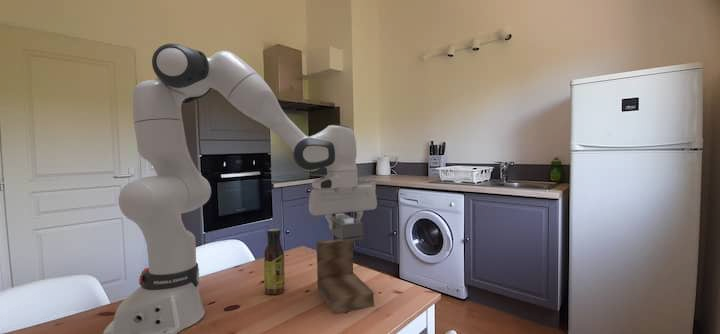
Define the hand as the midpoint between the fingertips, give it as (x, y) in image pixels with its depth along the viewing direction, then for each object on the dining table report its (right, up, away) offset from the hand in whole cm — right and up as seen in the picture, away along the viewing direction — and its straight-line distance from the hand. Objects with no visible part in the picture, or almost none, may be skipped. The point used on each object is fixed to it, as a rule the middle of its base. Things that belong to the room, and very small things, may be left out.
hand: (344, 227), depth 95 cm
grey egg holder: (0, -2, 0) cm, 2 cm away
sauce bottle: (-23, -22, +9) cm, 33 cm away
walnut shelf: (0, -22, +4) cm, 22 cm away
